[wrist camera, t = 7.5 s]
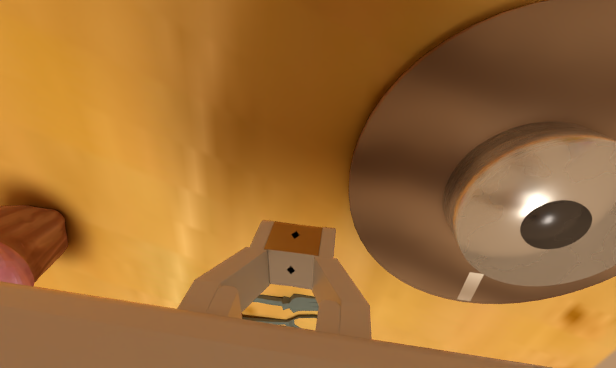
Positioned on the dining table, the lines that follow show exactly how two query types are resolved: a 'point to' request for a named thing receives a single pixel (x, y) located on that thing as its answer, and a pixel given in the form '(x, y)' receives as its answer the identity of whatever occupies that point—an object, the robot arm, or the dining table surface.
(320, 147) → the dining table surface
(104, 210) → the dining table surface
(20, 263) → the cupcake
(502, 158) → the cover
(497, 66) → the platter
